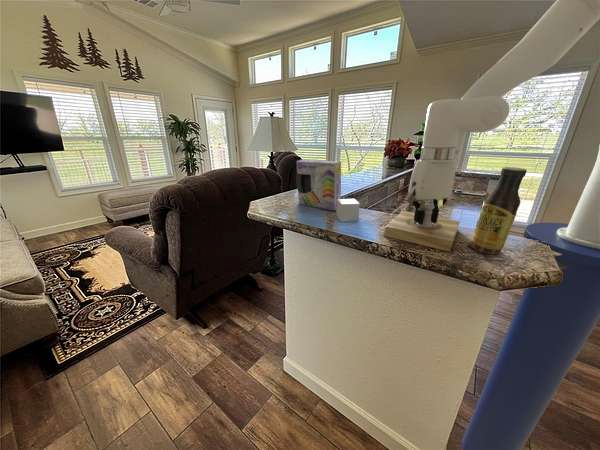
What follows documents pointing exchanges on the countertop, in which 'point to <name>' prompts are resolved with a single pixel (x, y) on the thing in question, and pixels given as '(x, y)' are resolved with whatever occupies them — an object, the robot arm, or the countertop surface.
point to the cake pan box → (319, 183)
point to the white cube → (348, 209)
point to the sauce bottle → (498, 212)
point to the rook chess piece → (427, 215)
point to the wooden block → (423, 231)
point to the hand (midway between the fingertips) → (425, 221)
